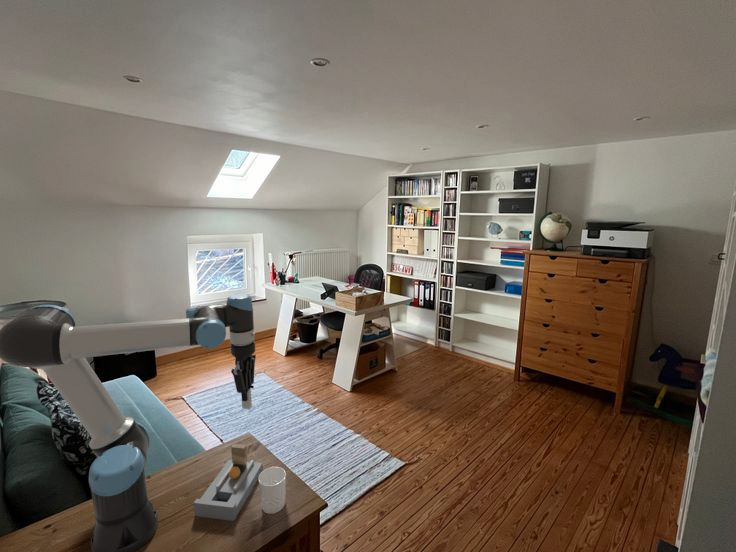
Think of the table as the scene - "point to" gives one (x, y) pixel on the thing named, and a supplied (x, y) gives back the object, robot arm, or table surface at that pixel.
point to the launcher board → (228, 492)
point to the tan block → (239, 456)
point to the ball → (234, 472)
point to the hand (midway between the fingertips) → (247, 407)
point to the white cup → (272, 489)
